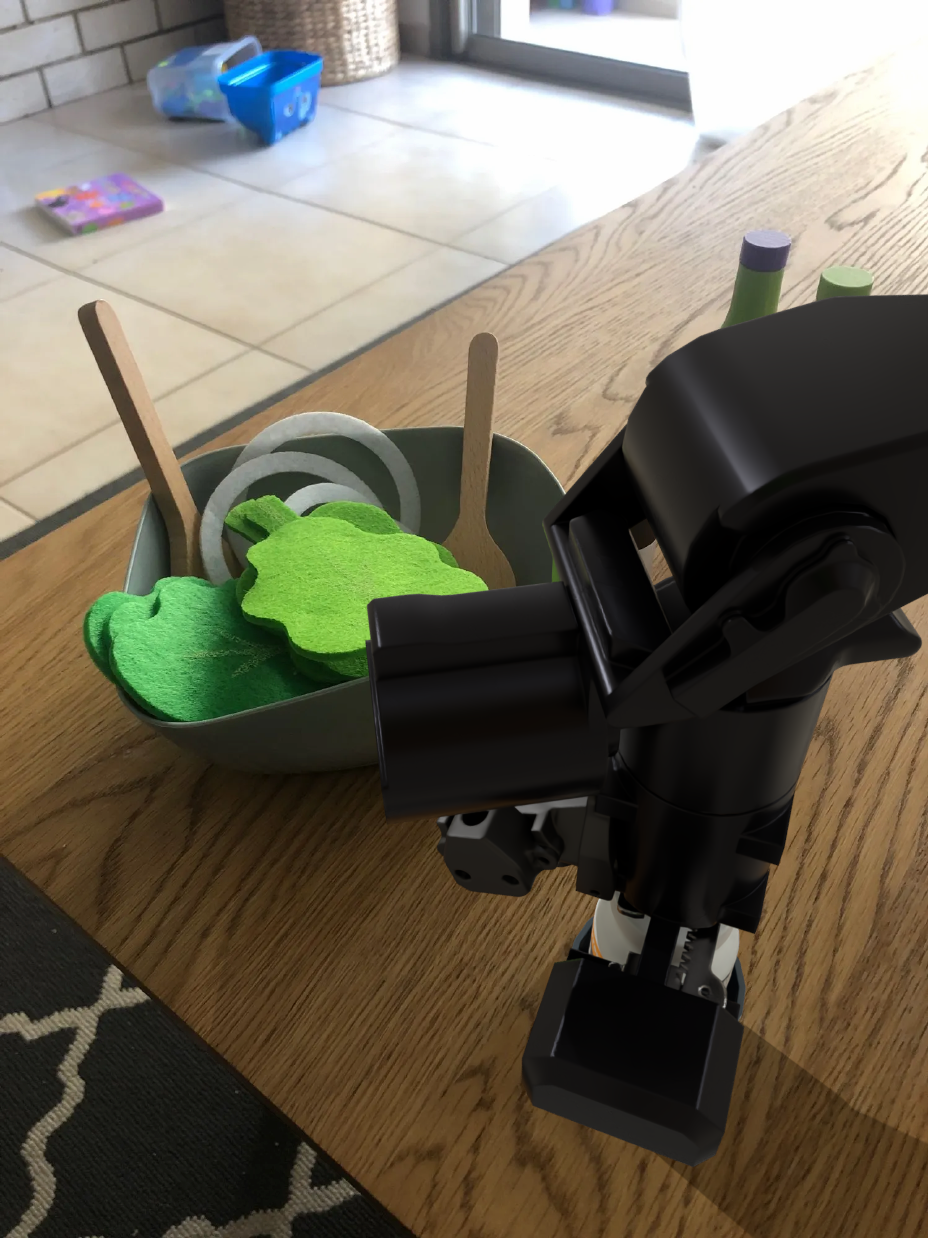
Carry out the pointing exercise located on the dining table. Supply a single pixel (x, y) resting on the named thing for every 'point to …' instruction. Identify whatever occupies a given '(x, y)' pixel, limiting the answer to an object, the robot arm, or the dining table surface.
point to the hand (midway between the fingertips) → (656, 977)
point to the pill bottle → (628, 934)
